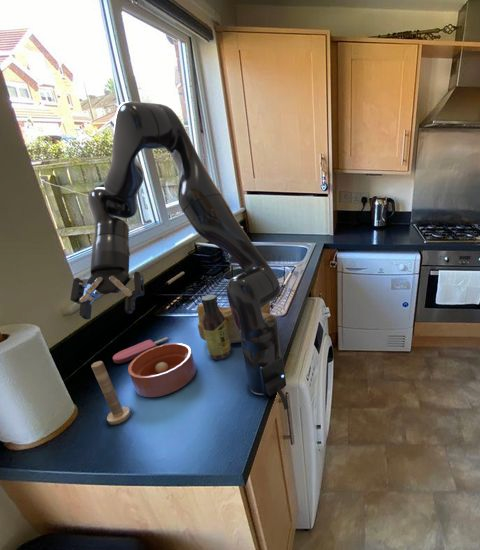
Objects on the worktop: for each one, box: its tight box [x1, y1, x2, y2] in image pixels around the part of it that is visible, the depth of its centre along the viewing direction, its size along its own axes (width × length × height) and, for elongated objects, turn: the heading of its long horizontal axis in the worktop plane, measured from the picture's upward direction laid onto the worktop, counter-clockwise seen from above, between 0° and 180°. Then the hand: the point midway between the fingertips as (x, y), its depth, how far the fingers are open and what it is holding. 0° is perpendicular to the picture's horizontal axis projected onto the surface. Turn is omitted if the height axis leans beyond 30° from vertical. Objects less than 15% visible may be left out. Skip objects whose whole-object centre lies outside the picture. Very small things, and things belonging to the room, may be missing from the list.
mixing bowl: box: [127, 342, 197, 398], centre depth 83 cm, size 14×14×7 cm
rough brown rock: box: [196, 302, 271, 344], centre depth 103 cm, size 23×17×15 cm
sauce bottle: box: [200, 294, 232, 361], centre depth 91 cm, size 7×6×20 cm
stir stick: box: [90, 360, 132, 426], centre depth 70 cm, size 4×4×16 cm
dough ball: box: [155, 362, 168, 373], centre depth 86 cm, size 3×3×3 cm
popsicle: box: [112, 336, 169, 364], centre depth 96 cm, size 5×2×15 cm
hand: (107, 315), depth 74 cm, fingers open, 8 cm apart
